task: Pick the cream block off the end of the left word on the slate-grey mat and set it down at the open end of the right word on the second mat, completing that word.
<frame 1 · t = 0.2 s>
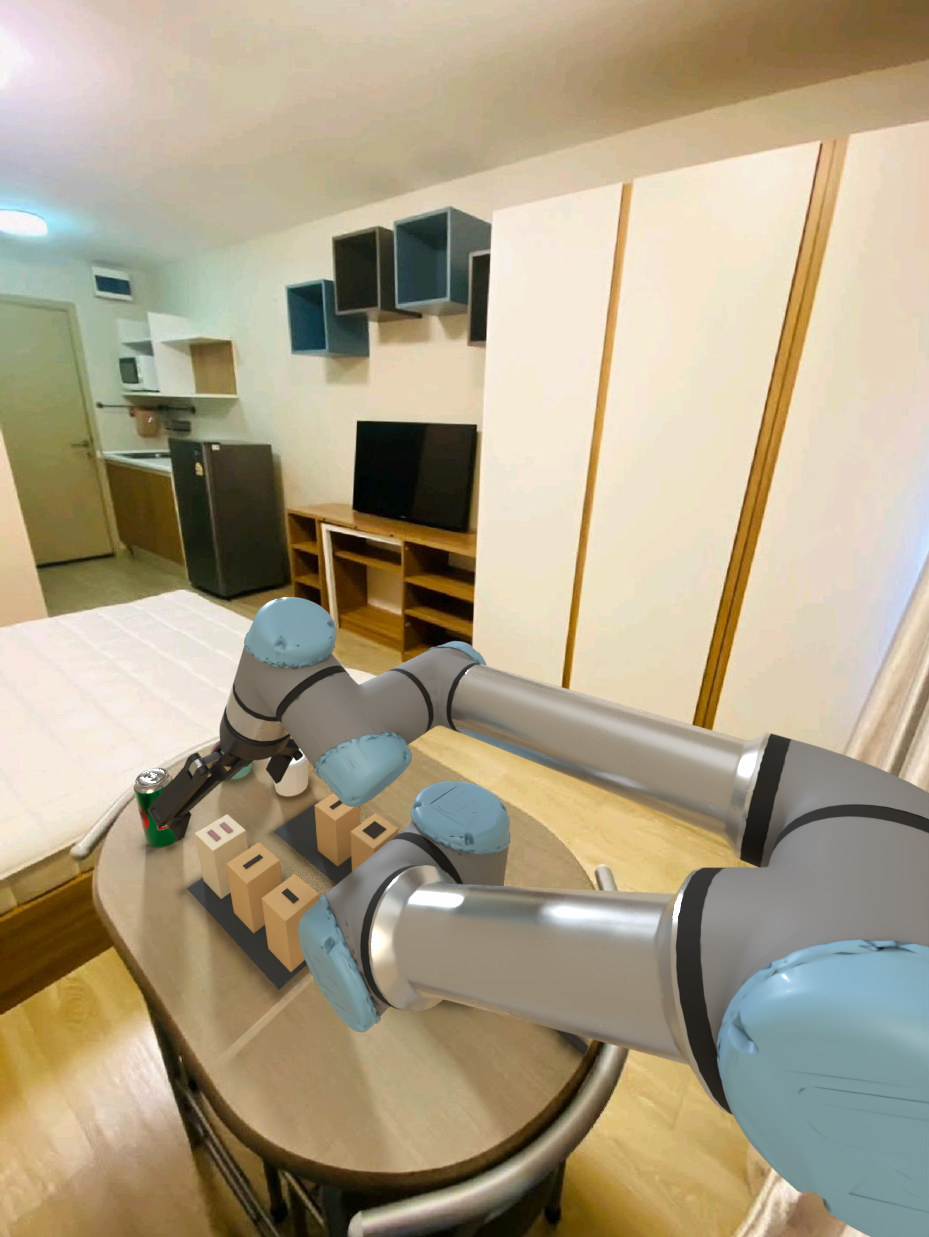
hand: (228, 800, 69), 16 cm above the table, tool tilted 30°, fingers open, 13 cm apart
left word board: (260, 912, 71), on the table
soda can: (165, 838, 83), on the table
white cup: (291, 787, 95), on the table
cupcake: (238, 772, 98), on the table
cream block: (228, 878, 76), resting on left word board
right word board: (339, 850, 82), on the table
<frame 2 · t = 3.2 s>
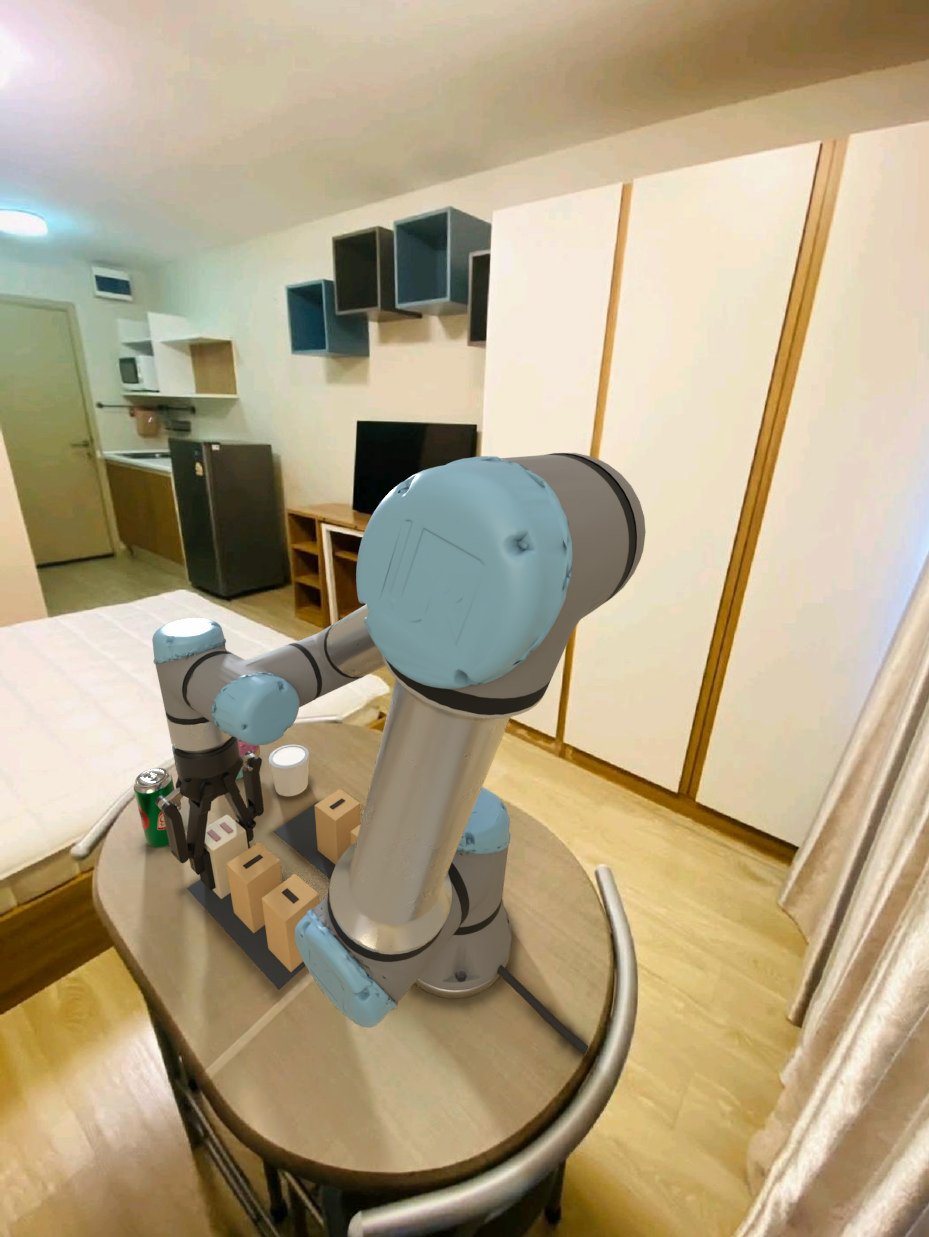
hand: (226, 871, 75), 2 cm above the table, tool pointing down, fingers closed on cream block, 5 cm apart
cream block: (228, 879, 76), resting on left word board, touching gripper
everything else where it was.
when the fingers open (2 cm above the table, at t = 8.6 s): cream block stays where it is, resting on right word board.
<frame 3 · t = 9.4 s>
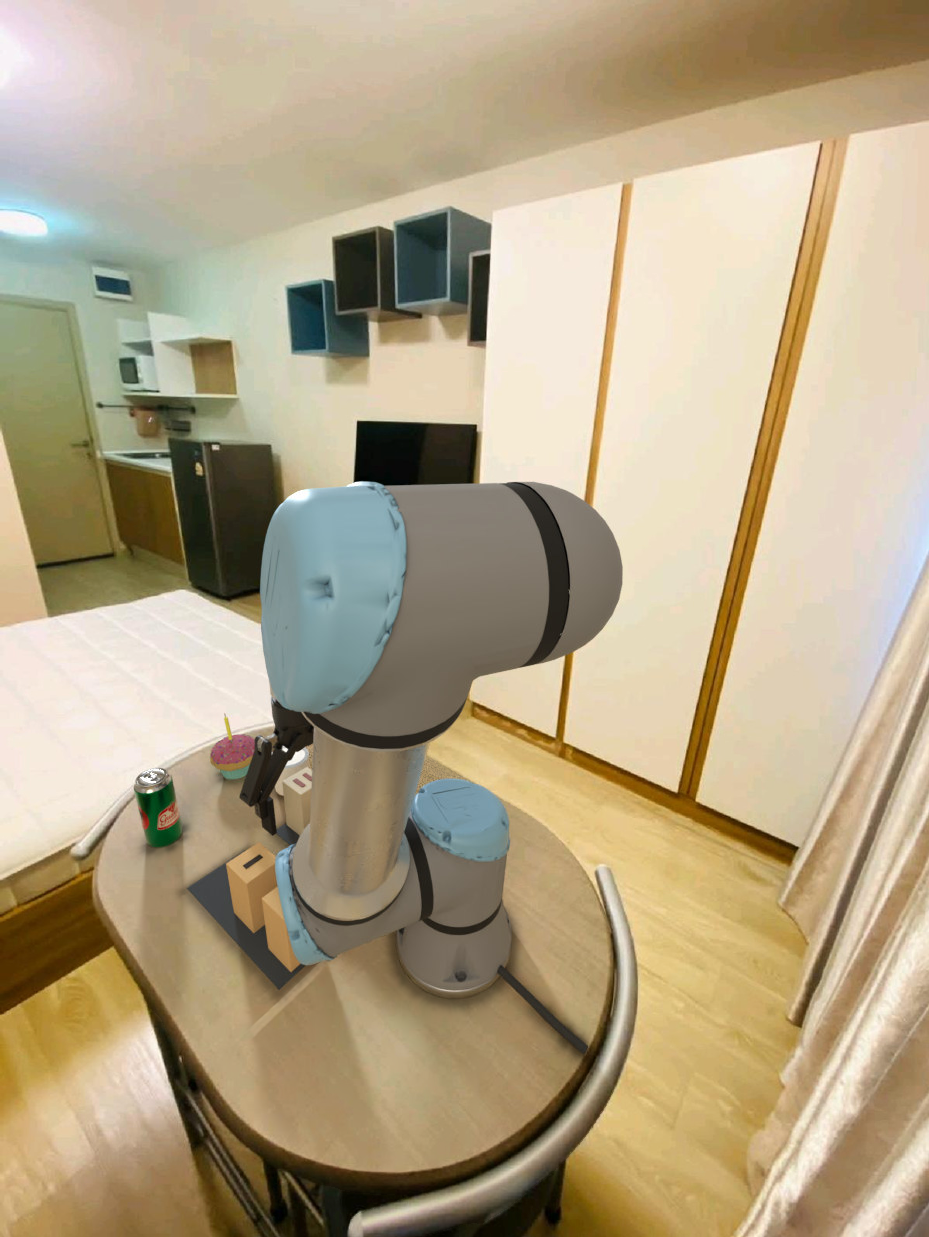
hand: (306, 806, 85), 4 cm above the table, tool pointing down, fingers open, 13 cm apart
cream block: (307, 823, 86), resting on right word board
everything else where it was.
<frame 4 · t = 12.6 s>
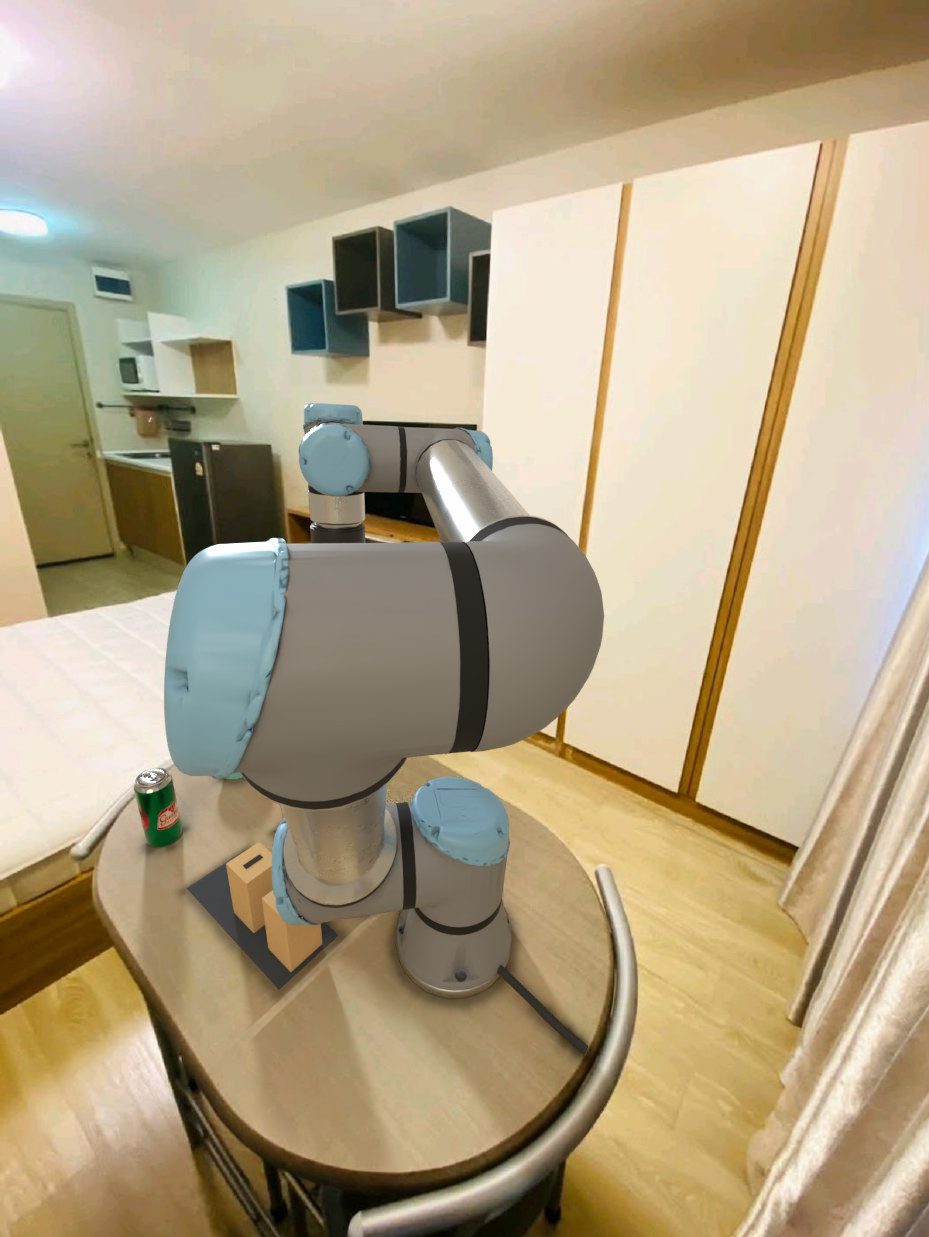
hand: (343, 658, 81), 29 cm above the table, tool pointing down, fingers open, 13 cm apart
nothing on the table moved.
at the end: cream block 0.2 cm from the target spot on the right word board, point 0.4 cm above the right word board's base; cream block tilted 0°; the gripper is holding nothing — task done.
